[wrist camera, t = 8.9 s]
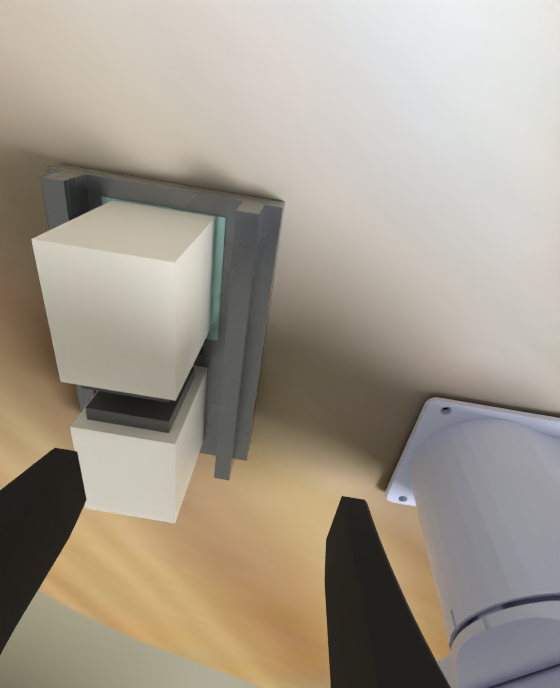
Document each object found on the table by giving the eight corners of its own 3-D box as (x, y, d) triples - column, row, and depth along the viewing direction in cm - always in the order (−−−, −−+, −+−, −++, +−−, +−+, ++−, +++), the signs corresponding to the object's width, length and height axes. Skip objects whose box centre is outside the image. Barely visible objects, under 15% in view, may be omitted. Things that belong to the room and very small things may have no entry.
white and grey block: (131, 428, 22) (85, 508, 17) (125, 343, 19) (67, 414, 14) (203, 440, 22) (175, 523, 17) (208, 357, 19) (175, 433, 14)
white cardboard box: (215, 217, 15) (174, 262, 11) (209, 340, 18) (175, 413, 14) (112, 200, 15) (31, 238, 11) (123, 326, 18) (63, 395, 14)
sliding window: (284, 201, 16) (279, 217, 13) (249, 447, 23) (242, 482, 21) (60, 163, 16) (20, 173, 13) (97, 421, 23) (75, 454, 21)
